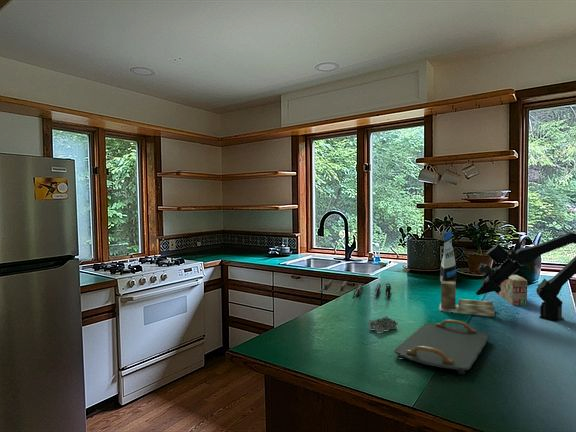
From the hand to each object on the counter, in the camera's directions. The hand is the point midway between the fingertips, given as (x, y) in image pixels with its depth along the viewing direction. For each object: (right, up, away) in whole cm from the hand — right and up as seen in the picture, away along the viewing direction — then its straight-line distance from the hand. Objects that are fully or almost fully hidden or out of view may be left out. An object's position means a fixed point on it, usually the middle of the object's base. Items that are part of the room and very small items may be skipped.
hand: (476, 294), depth 166 cm
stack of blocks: (+27, -7, +19) cm, 33 cm away
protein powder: (+15, -5, +63) cm, 65 cm away
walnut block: (-10, -7, +5) cm, 13 cm away
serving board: (-31, -11, -40) cm, 52 cm away
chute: (-3, -8, +2) cm, 9 cm away
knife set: (-48, -8, +32) cm, 58 cm away
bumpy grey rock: (-47, -10, -19) cm, 51 cm away
